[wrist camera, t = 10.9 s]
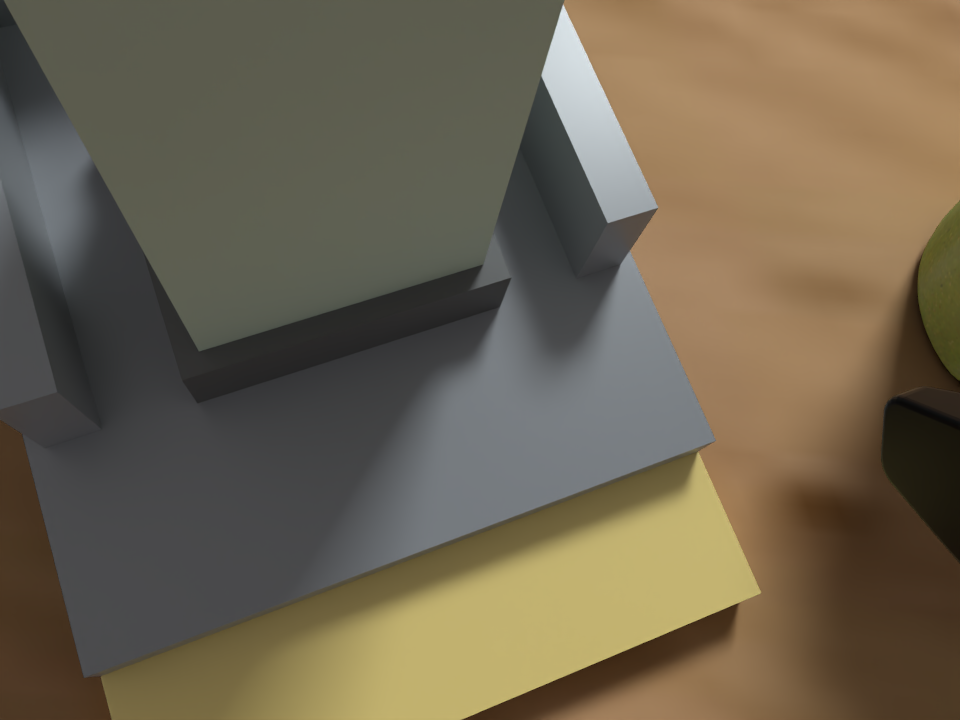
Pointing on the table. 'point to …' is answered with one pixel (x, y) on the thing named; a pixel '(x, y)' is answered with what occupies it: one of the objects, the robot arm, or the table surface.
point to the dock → (361, 453)
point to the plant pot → (942, 290)
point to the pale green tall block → (300, 162)
